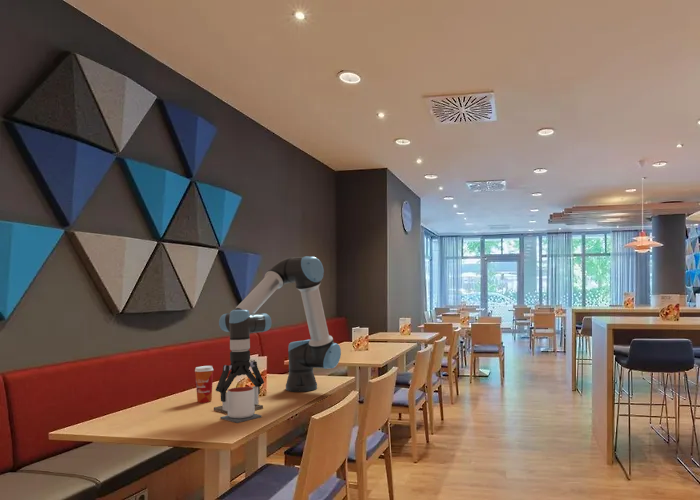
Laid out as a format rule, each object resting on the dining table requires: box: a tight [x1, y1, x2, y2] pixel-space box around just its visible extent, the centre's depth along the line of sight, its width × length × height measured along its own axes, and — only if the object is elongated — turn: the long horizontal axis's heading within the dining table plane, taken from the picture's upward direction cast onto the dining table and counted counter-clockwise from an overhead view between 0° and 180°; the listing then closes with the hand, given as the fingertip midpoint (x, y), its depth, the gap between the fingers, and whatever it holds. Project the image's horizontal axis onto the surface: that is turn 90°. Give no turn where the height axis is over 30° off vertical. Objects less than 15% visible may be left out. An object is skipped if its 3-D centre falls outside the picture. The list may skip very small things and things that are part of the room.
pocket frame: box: [213, 404, 264, 415], centre depth 214 cm, size 14×14×1 cm
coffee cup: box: [194, 365, 214, 404], centre depth 232 cm, size 8×8×15 cm
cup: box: [226, 386, 256, 419], centre depth 200 cm, size 10×10×10 cm
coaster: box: [220, 413, 263, 424], centre depth 199 cm, size 11×11×1 cm
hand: (240, 407), depth 199 cm, fingers open, 13 cm apart
